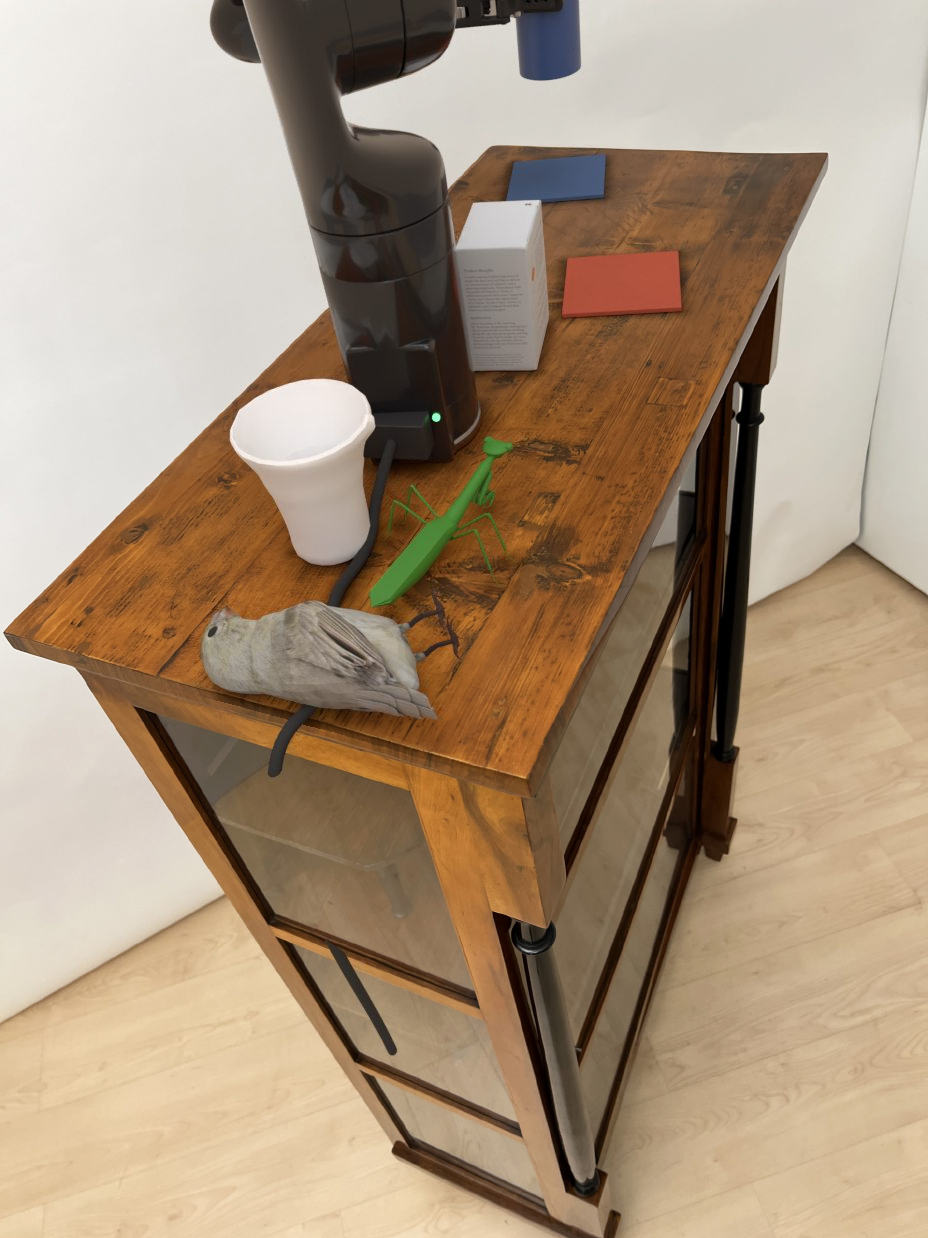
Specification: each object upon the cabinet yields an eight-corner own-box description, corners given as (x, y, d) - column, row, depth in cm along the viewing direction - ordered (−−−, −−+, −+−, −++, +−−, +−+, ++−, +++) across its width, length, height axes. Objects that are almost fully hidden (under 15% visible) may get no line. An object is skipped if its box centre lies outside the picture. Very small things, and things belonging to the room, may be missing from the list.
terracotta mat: (681, 311, 79) (681, 306, 79) (561, 317, 81) (561, 313, 81) (678, 254, 86) (678, 250, 86) (567, 261, 88) (567, 257, 87)
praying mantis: (564, 511, 64) (563, 456, 61) (437, 653, 56) (428, 598, 53) (452, 473, 69) (445, 420, 65) (318, 600, 60) (303, 546, 57)
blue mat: (603, 197, 96) (603, 193, 96) (506, 205, 98) (505, 201, 97) (605, 157, 103) (605, 153, 102) (514, 165, 104) (514, 161, 104)
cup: (382, 586, 61) (348, 463, 54) (252, 576, 63) (202, 456, 56) (419, 497, 67) (392, 375, 59) (298, 491, 69) (258, 372, 62)
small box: (487, 321, 82) (471, 200, 75) (551, 319, 81) (541, 196, 73) (469, 372, 77) (451, 248, 70) (537, 372, 76) (526, 245, 68)
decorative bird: (202, 578, 57) (154, 682, 53) (451, 573, 52) (420, 688, 47) (242, 631, 61) (201, 731, 57) (477, 631, 56) (451, 742, 51)
